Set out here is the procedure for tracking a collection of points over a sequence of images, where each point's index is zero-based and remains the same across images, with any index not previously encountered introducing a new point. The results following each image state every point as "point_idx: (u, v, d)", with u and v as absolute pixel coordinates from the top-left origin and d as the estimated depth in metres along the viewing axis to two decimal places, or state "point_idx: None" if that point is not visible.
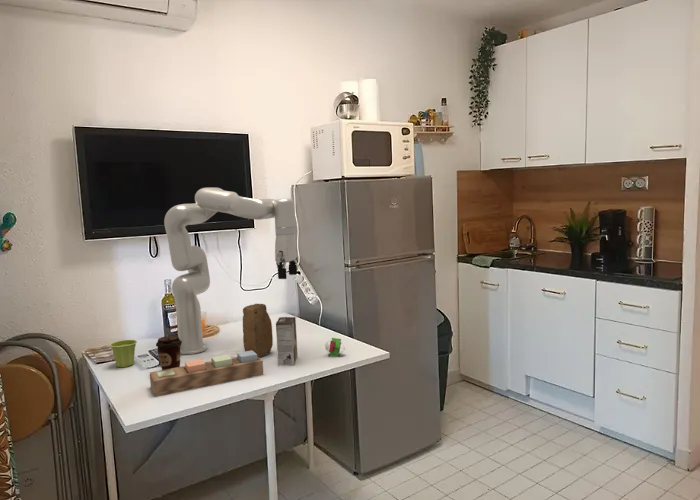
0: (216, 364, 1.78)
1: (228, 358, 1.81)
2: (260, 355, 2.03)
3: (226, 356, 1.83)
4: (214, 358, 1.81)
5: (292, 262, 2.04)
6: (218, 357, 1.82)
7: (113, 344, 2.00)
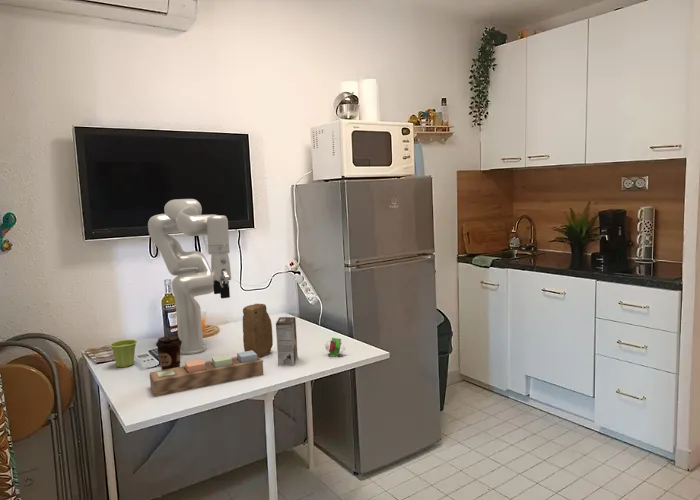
0: (216, 364, 1.78)
1: (228, 358, 1.81)
2: (260, 355, 2.03)
3: (226, 356, 1.83)
4: (214, 358, 1.81)
5: None
6: (218, 357, 1.82)
7: (113, 344, 2.00)
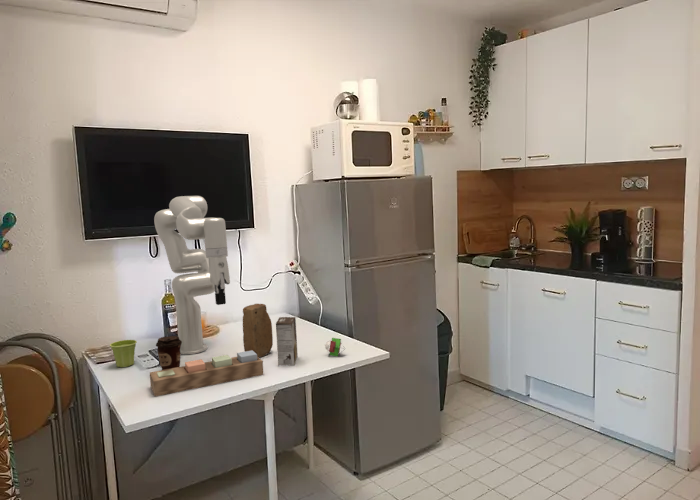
0: (216, 364, 1.78)
1: (228, 358, 1.81)
2: (260, 355, 2.03)
3: (226, 356, 1.83)
4: (214, 358, 1.81)
5: None
6: (218, 357, 1.82)
7: (113, 344, 2.00)
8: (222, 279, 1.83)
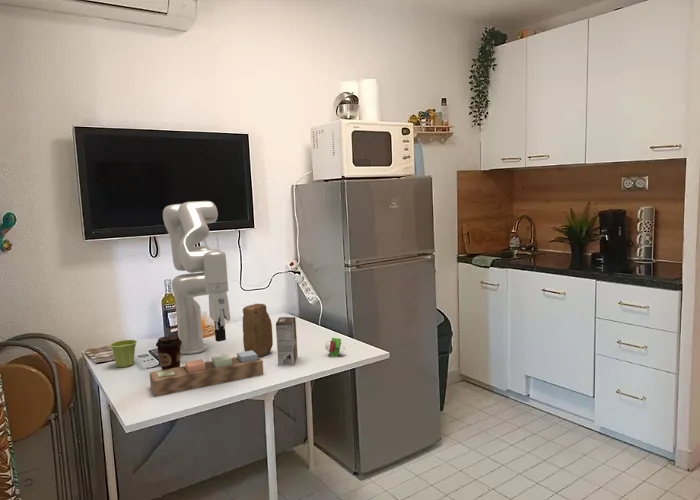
0: (216, 364, 1.78)
1: (228, 358, 1.81)
2: (260, 355, 2.03)
3: (226, 356, 1.83)
4: (214, 358, 1.81)
5: None
6: (218, 357, 1.82)
7: (113, 344, 2.00)
8: (222, 316, 1.75)
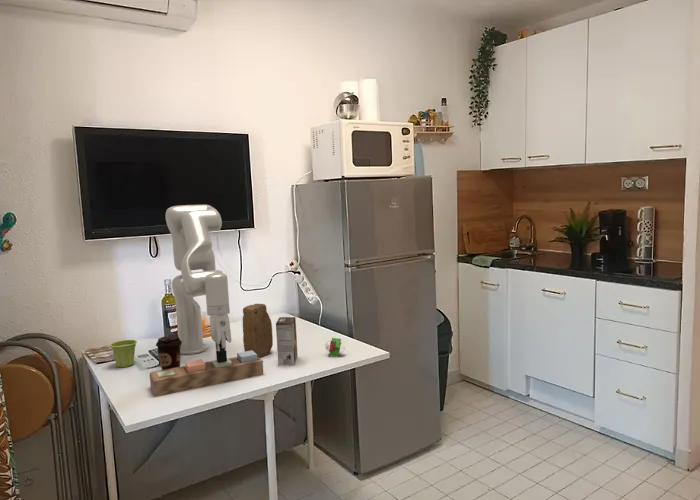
0: (216, 367, 1.78)
1: (228, 361, 1.81)
2: (260, 355, 2.03)
3: None
4: (214, 361, 1.81)
5: None
6: None
7: (113, 344, 2.00)
8: (223, 338, 1.76)
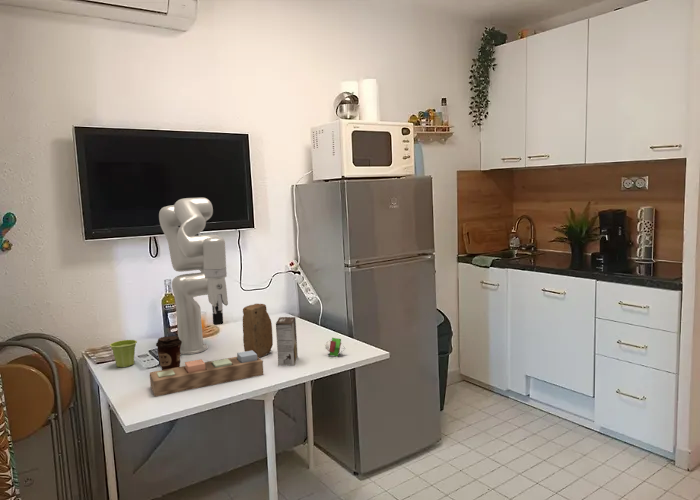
0: None
1: (228, 362, 1.81)
2: (260, 355, 2.03)
3: (226, 360, 1.83)
4: (214, 362, 1.81)
5: None
6: (219, 361, 1.83)
7: (113, 344, 2.00)
8: (220, 301, 1.80)
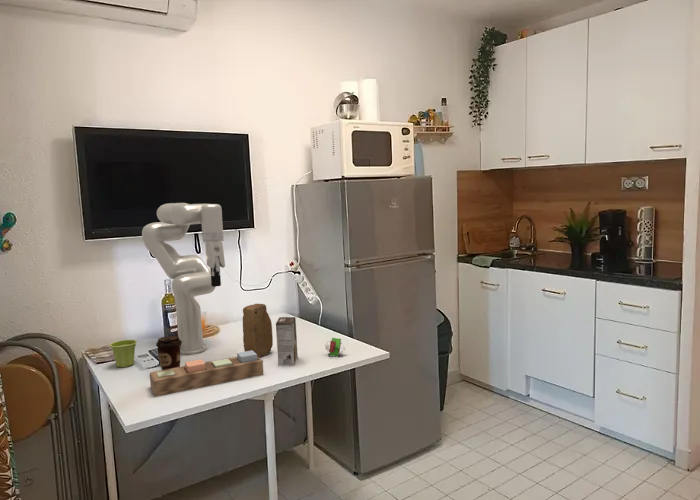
0: None
1: (228, 362, 1.81)
2: (260, 355, 2.03)
3: (226, 360, 1.83)
4: (214, 362, 1.81)
5: None
6: (219, 361, 1.83)
7: (113, 344, 2.00)
8: (217, 262, 1.93)
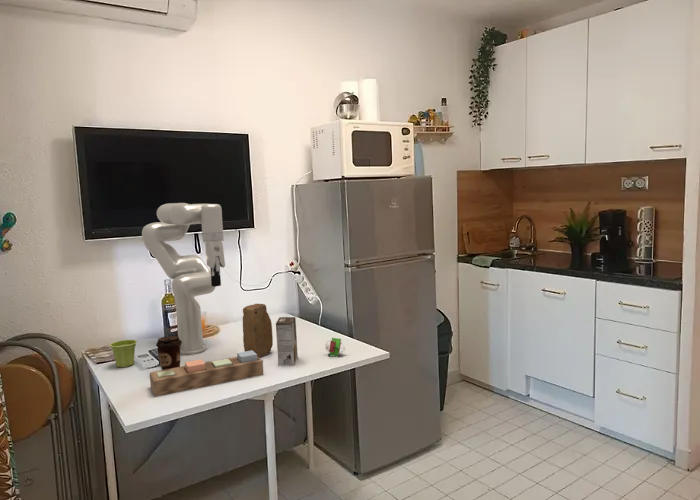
0: None
1: (228, 362, 1.81)
2: (260, 355, 2.03)
3: (226, 360, 1.83)
4: (214, 362, 1.81)
5: None
6: (219, 361, 1.83)
7: (113, 344, 2.00)
8: (217, 262, 1.93)
